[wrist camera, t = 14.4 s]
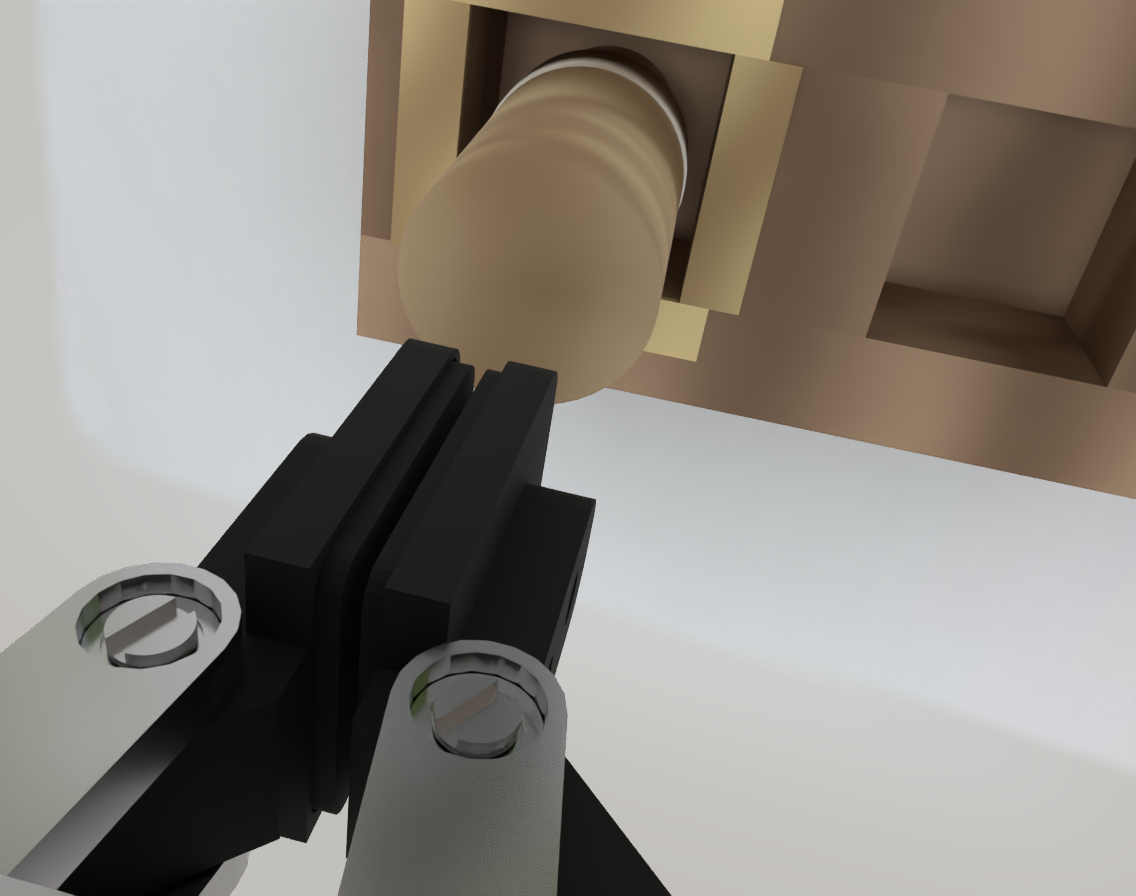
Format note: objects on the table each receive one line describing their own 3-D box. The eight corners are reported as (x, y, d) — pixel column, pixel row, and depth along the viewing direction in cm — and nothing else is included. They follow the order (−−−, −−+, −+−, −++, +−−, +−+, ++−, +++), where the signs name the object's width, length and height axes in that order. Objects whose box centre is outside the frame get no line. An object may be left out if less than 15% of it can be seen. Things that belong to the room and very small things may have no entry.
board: (1298, -11, 23) (1425, 25, 19) (1093, 404, 29) (1153, 506, 25) (443, -166, 24) (374, -165, 20) (413, 264, 30) (354, 338, 26)
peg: (713, 37, 25) (686, 179, 15) (679, 215, 27) (639, 428, 18) (530, 8, 25) (398, 130, 16) (514, 186, 27) (391, 381, 18)
